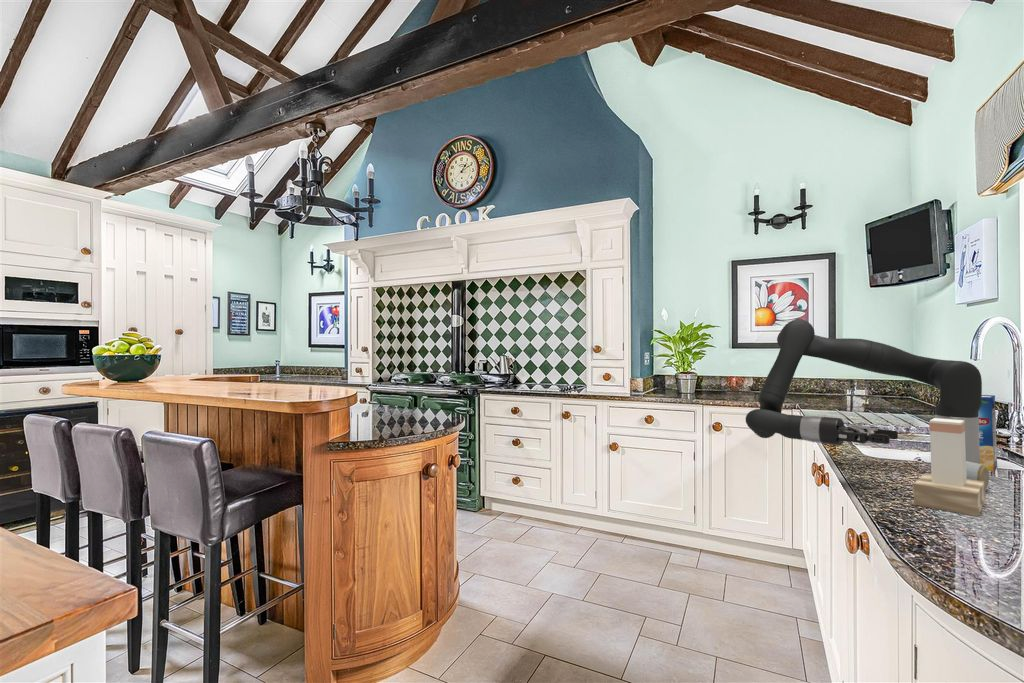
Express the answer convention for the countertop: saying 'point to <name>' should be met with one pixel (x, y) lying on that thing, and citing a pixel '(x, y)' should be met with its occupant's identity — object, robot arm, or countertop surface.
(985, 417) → the blue pasta box
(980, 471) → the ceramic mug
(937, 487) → the tan wooden block
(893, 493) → the countertop surface
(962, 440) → the carton
